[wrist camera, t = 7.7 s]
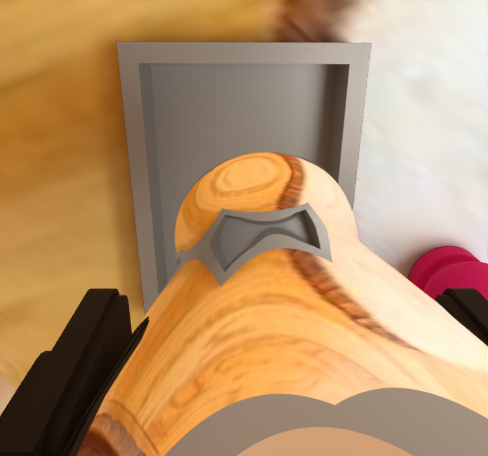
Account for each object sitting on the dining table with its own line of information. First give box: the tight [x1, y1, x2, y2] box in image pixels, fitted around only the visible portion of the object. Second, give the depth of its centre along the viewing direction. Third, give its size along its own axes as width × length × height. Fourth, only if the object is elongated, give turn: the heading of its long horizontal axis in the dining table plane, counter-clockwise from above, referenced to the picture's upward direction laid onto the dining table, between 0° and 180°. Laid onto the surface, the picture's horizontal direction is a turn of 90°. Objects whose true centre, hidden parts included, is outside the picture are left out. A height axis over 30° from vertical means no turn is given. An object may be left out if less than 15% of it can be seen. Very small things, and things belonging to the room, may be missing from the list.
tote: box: [116, 42, 371, 315], centre depth 32 cm, size 22×15×5 cm
